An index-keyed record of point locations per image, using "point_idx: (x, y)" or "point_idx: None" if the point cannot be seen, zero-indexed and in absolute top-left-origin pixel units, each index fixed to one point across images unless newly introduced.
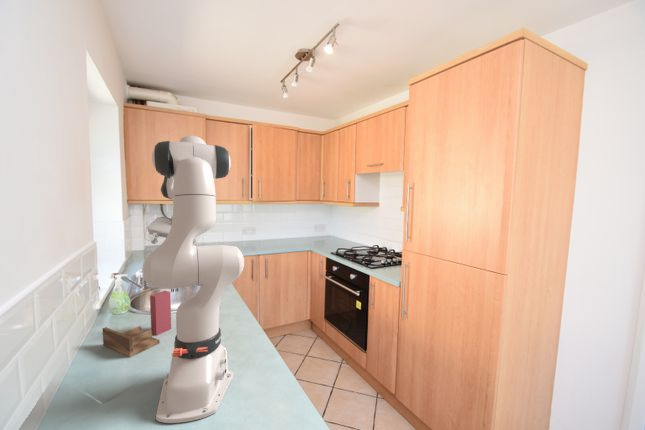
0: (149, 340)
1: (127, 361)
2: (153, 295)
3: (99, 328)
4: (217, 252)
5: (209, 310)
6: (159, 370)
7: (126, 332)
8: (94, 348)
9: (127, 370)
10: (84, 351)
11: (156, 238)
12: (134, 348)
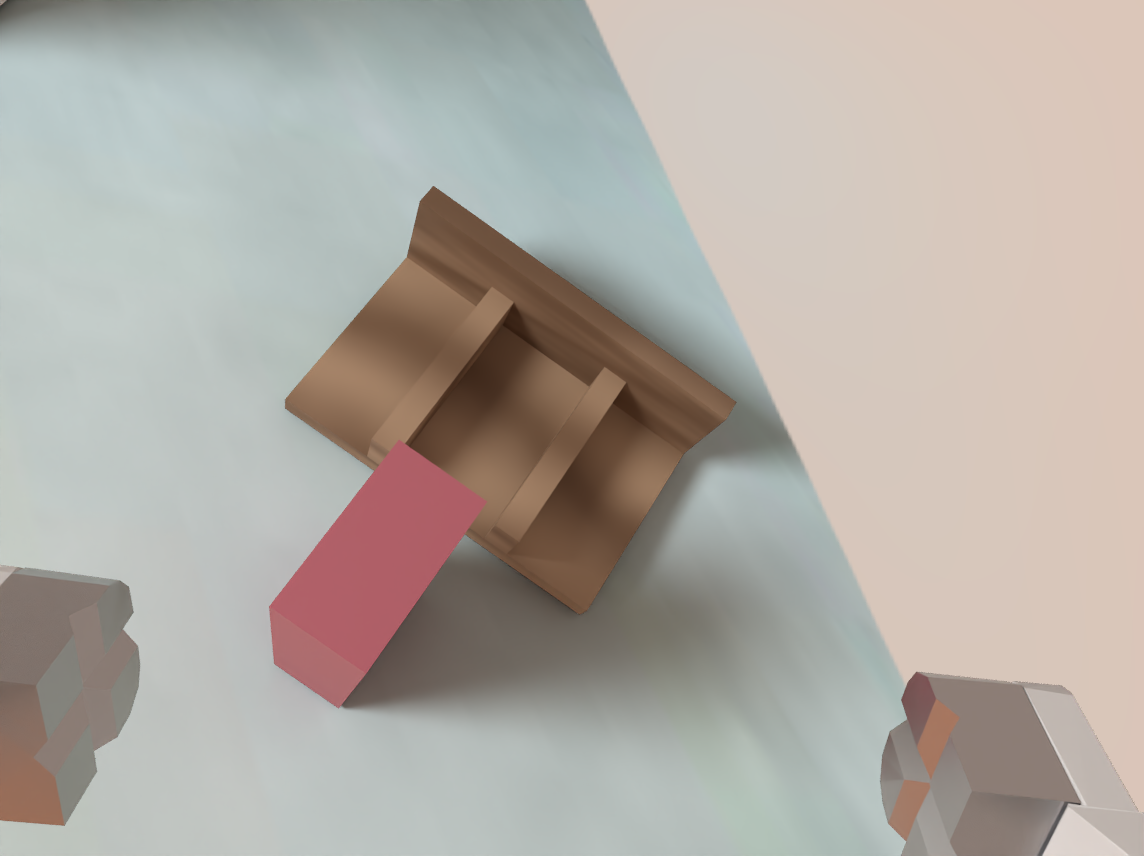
0: (363, 403)
1: (411, 222)
2: (440, 486)
3: None
4: None
5: None
6: (160, 82)
7: (564, 437)
8: None
9: (362, 128)
10: (753, 394)
11: (985, 796)
12: (422, 305)
